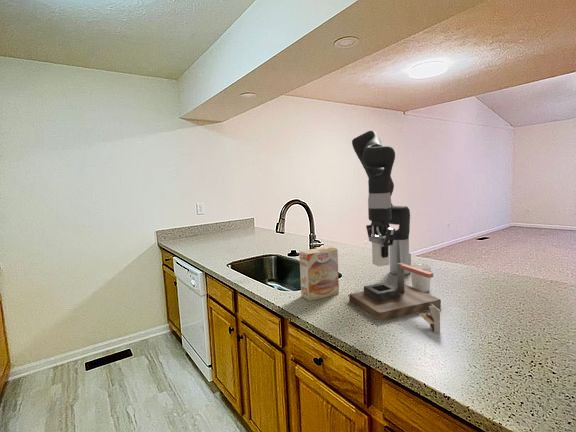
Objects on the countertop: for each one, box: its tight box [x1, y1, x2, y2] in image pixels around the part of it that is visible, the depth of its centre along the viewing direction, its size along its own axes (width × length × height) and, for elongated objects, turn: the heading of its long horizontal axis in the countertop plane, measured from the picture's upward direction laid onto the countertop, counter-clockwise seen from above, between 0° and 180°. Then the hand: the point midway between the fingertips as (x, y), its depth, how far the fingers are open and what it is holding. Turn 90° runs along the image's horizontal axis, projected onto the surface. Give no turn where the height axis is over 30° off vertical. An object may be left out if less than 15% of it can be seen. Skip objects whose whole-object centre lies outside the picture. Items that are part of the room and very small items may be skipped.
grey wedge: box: [419, 304, 441, 334], centre depth 103 cm, size 3×7×7 cm, turn 2°
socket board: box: [348, 282, 442, 322], centre depth 124 cm, size 26×20×6 cm
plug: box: [368, 236, 390, 267], centre depth 113 cm, size 5×5×10 cm
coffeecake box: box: [298, 245, 340, 302], centre depth 137 cm, size 15×7×20 cm, turn 118°
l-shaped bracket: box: [396, 263, 434, 292], centre depth 121 cm, size 17×3×11 cm, turn 21°
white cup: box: [410, 263, 432, 293], centre depth 137 cm, size 8×8×10 cm
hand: (380, 255), depth 113 cm, fingers closed on plug, 4 cm apart
